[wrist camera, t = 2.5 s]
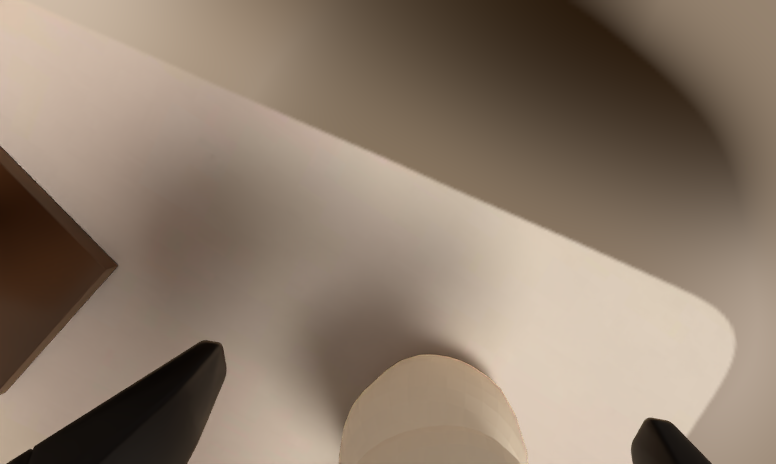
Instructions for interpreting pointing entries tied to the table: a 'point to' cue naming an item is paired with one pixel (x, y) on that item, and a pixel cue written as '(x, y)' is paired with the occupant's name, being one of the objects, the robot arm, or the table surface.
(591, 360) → the table surface
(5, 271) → the stand
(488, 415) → the cat figurine
